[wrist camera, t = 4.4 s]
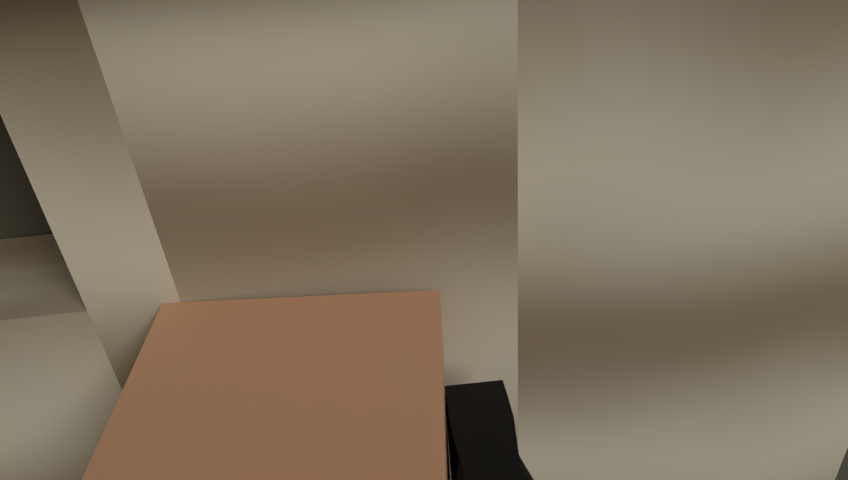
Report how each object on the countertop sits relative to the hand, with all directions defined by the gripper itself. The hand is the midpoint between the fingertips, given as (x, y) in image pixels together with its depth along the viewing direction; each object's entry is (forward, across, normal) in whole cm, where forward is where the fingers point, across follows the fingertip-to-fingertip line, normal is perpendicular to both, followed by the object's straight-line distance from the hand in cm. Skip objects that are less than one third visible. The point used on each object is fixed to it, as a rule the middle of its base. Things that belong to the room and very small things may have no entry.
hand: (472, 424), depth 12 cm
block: (+1, +3, 0) cm, 3 cm away
